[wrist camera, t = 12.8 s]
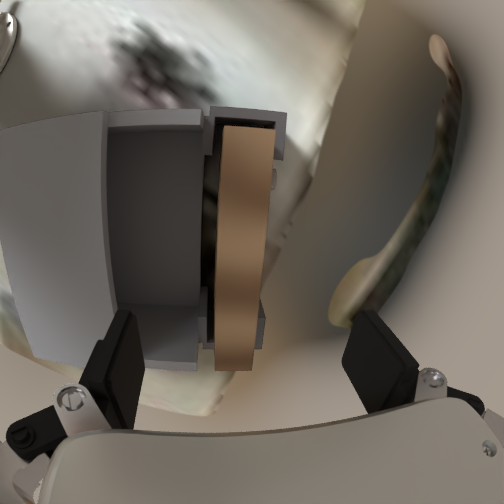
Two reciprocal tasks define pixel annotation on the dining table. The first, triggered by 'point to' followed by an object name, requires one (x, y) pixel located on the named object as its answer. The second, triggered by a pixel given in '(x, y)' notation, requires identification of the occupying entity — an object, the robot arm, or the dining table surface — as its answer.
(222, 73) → the dining table surface
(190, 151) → the cabinet
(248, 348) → the tan wooden plank
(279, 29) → the dining table surface
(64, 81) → the dining table surface
